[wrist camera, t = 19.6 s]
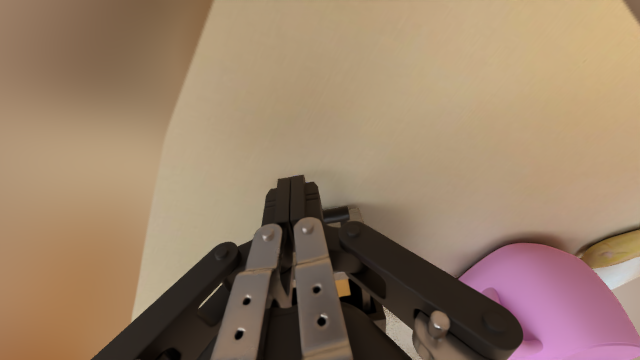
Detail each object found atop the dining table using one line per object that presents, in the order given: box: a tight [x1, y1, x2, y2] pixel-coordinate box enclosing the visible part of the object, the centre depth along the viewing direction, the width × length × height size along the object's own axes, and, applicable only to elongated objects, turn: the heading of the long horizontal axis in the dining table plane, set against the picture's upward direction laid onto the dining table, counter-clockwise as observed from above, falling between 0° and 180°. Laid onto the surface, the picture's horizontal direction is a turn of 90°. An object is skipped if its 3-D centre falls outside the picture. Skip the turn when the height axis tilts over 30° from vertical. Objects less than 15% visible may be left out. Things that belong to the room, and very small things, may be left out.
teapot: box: [458, 243, 640, 360], centre depth 33 cm, size 23×21×15 cm
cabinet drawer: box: [292, 206, 371, 314], centre depth 26 cm, size 18×10×7 cm, turn 8°
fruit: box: [580, 230, 640, 269], centre depth 35 cm, size 7×15×3 cm, turn 92°
